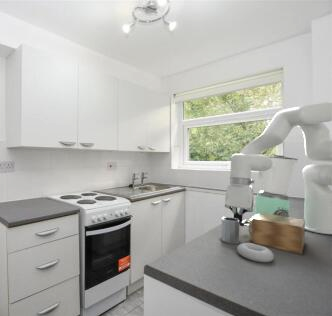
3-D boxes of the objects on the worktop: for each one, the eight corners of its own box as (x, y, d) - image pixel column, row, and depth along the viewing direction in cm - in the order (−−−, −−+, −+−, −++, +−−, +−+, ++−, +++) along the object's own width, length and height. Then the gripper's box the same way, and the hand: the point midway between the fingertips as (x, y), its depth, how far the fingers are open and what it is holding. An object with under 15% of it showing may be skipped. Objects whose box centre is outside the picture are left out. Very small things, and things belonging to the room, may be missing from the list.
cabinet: (251, 242, 88) (252, 218, 88) (259, 233, 98) (259, 212, 98) (301, 254, 78) (302, 227, 77) (304, 243, 88) (305, 219, 87)
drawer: (237, 235, 92) (237, 217, 92) (245, 229, 102) (245, 212, 101) (293, 249, 80) (293, 227, 80) (296, 240, 89) (297, 220, 89)
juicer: (298, 235, 98) (310, 157, 97) (268, 232, 99) (279, 154, 97) (265, 221, 117) (275, 156, 116) (240, 218, 118) (249, 153, 116)
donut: (279, 267, 68) (266, 253, 78) (279, 256, 68) (266, 243, 78) (242, 261, 71) (233, 248, 81) (242, 250, 71) (233, 239, 81)
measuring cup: (219, 240, 89) (220, 218, 89) (224, 237, 93) (224, 216, 93) (236, 245, 84) (236, 222, 84) (240, 241, 89) (241, 219, 88)
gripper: (262, 183, 94) (260, 225, 94) (224, 179, 105) (222, 217, 105) (258, 184, 89) (256, 229, 89) (218, 180, 100) (216, 220, 100)
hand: (237, 222), depth 97 cm, fingers closed
